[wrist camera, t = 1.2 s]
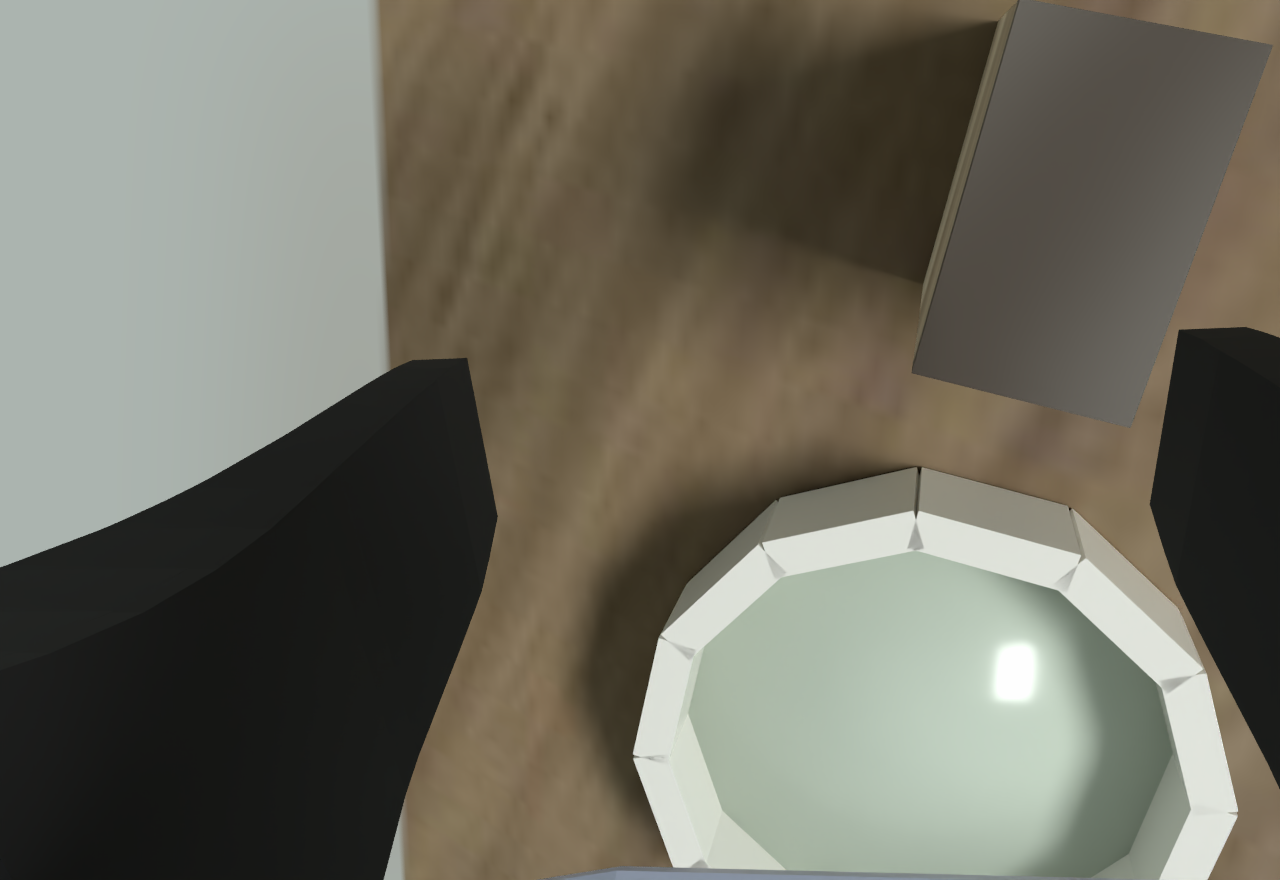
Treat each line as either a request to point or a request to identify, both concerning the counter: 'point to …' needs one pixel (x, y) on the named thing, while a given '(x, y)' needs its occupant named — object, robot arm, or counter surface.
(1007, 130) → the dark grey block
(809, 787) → the dish
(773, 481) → the counter surface
